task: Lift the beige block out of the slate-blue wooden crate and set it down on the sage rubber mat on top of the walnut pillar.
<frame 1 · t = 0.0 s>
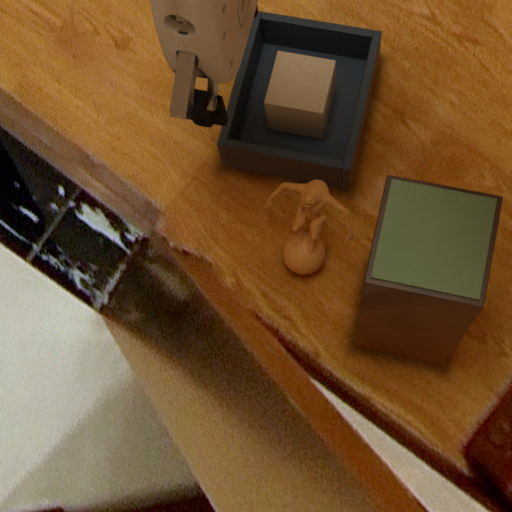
hand: (223, 65, 68), 17 cm above the table, tool pointing down, fingers open, 9 cm apart
beige block: (302, 108, 85), point 1 cm above the table, touching crate
mat: (434, 238, 58), resting on stand
stand: (407, 313, 79), on the table
figurine: (309, 250, 82), on the table
crate: (302, 112, 86), on the table
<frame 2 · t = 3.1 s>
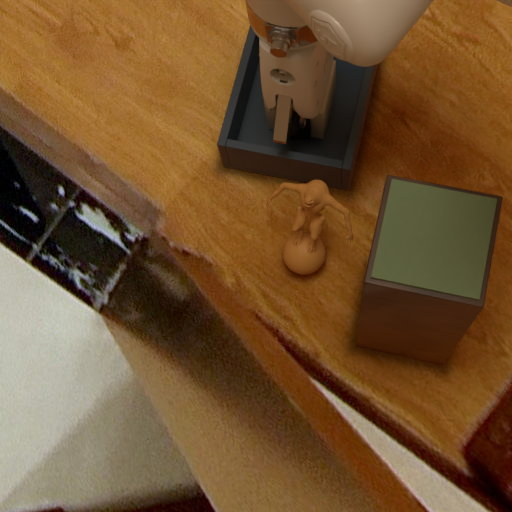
hand: (301, 104, 84), 2 cm above the table, tool pointing down, fingers closed on beige block, 5 cm apart
beige block: (302, 108, 85), point 1 cm above the table, touching crate, gripper
everything else where it was.
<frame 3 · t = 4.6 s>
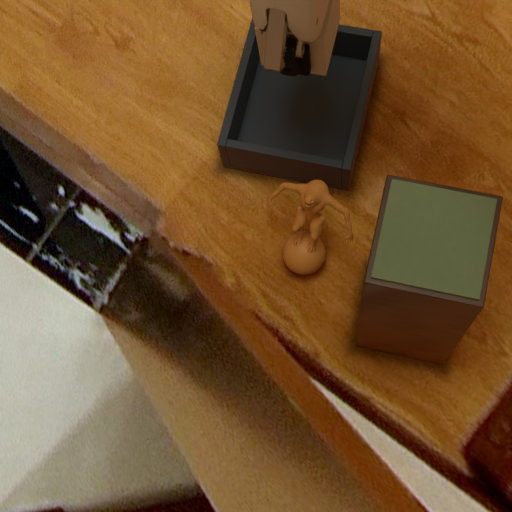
hand: (300, 35, 72), 15 cm above the table, tool pointing down, fingers closed on beige block, 5 cm apart
beige block: (300, 42, 73), point 14 cm above the table, touching gripper
everything else where it was.
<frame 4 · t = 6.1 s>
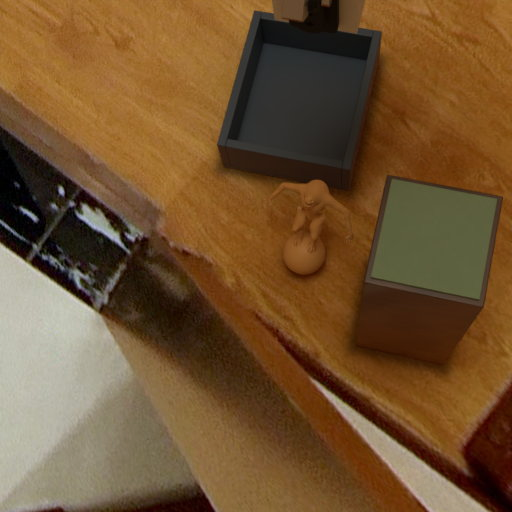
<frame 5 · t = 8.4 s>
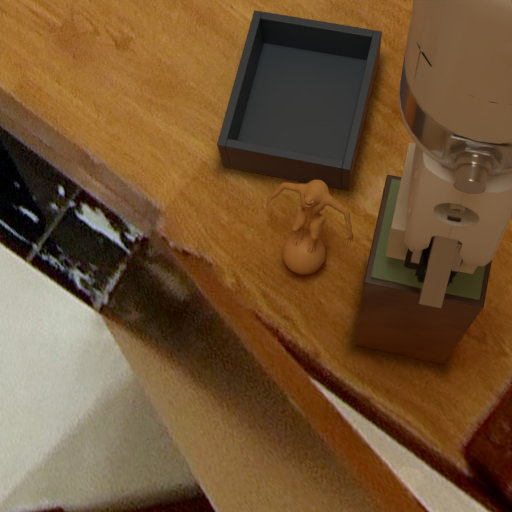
hand: (439, 220, 54), 26 cm above the table, tool pointing down, fingers closed on beige block, 5 cm apart
beige block: (436, 224, 55), point 25 cm above the table, touching gripper
everything else where it was.
when the fingers open (23 cm above the table, at t = 9.6 s): beige block stays where it is, resting on mat.
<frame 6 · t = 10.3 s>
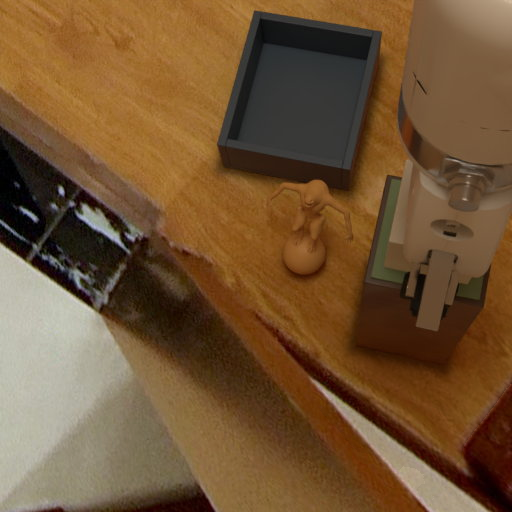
hand: (438, 227, 56), 24 cm above the table, tool pointing down, fingers open, 9 cm apart
beige block: (433, 237, 58), point 22 cm above the table, touching mat
everything else where it was.
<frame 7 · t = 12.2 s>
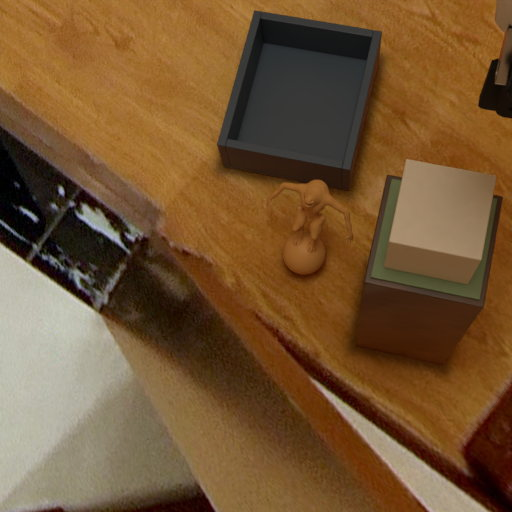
nothing on the table moved.
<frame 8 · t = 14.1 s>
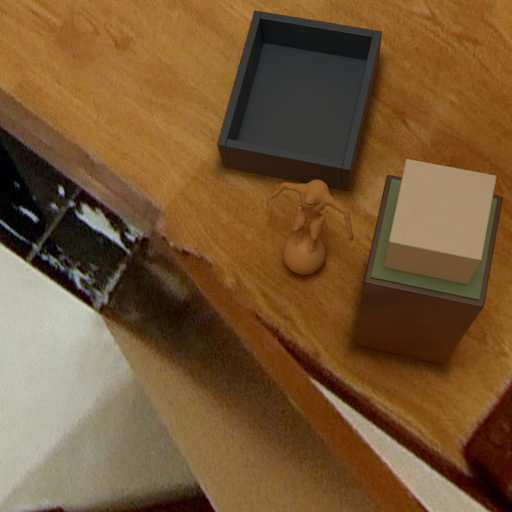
nothing on the table moved.
at the end: beige block 0.1 cm off-centre on the mat, point 0.3 cm above the mat's base; beige block tilted 0°; the gripper is holding nothing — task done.
